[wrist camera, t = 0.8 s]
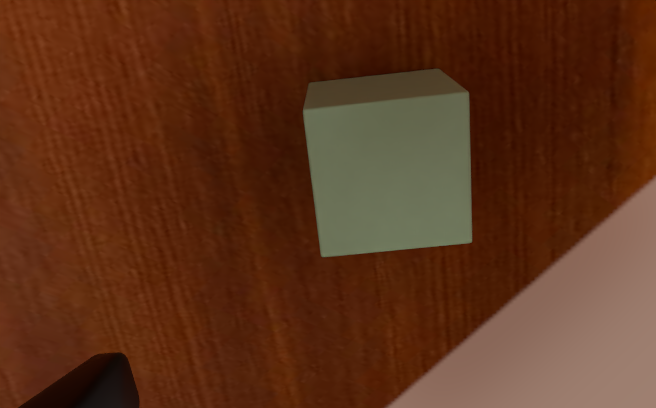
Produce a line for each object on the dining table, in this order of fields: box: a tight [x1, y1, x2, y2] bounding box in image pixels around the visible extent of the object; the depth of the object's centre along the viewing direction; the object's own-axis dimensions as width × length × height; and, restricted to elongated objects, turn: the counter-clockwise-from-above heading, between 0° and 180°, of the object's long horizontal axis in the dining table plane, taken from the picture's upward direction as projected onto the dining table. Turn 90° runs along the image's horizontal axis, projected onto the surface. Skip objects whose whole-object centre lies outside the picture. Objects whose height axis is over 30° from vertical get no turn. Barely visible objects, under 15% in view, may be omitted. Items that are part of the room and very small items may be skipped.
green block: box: [303, 69, 472, 257], centre depth 18 cm, size 4×4×4 cm
